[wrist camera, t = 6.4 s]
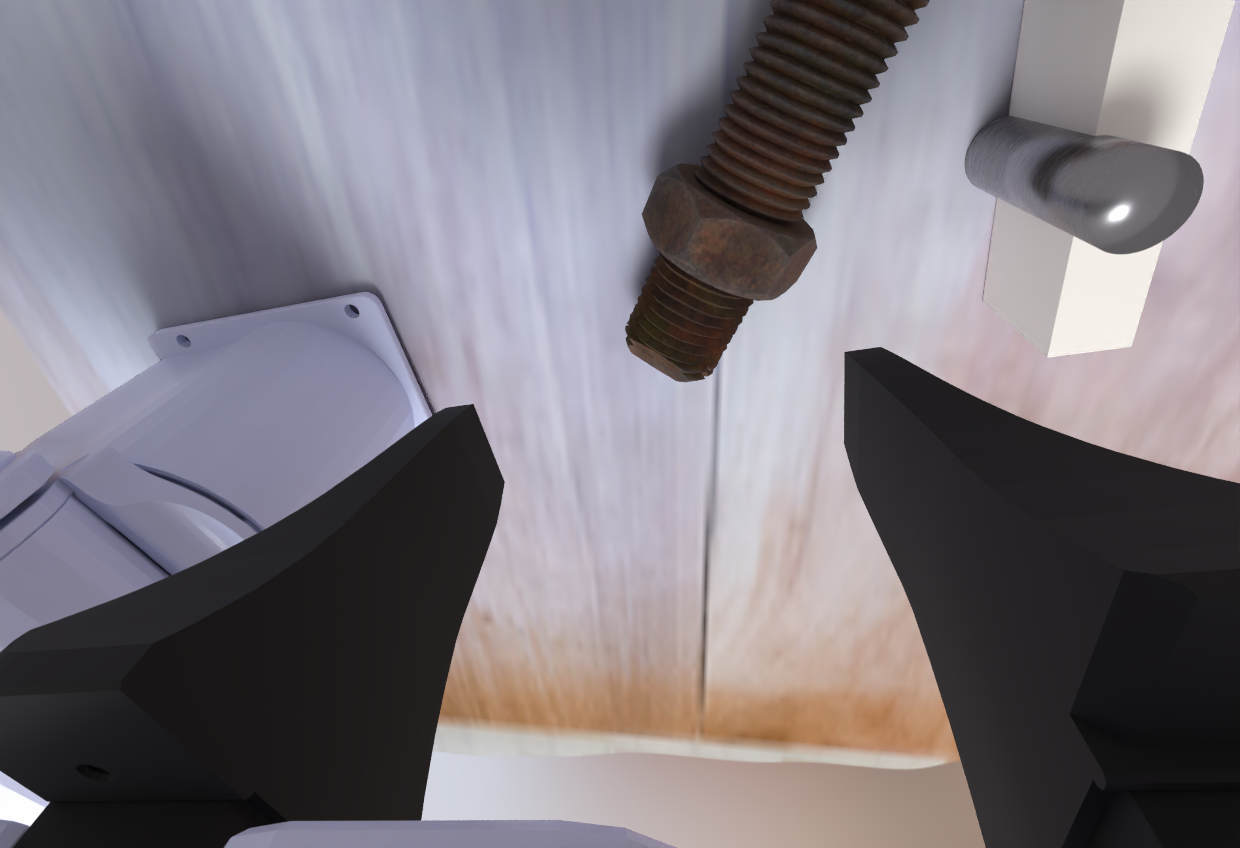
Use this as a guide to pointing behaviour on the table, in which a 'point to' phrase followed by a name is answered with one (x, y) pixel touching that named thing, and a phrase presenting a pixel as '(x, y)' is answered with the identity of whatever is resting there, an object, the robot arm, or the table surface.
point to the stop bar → (1094, 163)
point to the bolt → (758, 179)
